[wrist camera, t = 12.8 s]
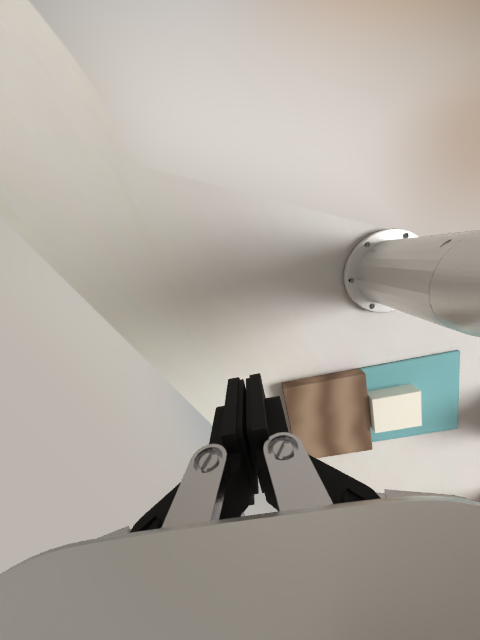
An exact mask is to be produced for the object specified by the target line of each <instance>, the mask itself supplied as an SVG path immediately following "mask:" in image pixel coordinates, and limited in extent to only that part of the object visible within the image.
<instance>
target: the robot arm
mask: <svg viewBox="0 0 480 640" xmlns="http://www.w3.org/2000/svg"><path fill="white" fill-rule="evenodd" d="M364 244H366V246H364ZM349 279H350V281H349ZM344 284H345V288H346V291H347V293H348V295H349V297H350V298H351V299H352V300H353V302H355V303H356V304H357V305H358V306H360V307H362V308H364V309H366V310H369V311H372V312H390V311H394V310H399V311H402V312H405V313H407V314H410V315H413V316H416V317H419V318H422V319H424V320H427V321H430V322H433V323H436V324H438V325H441V326H444V327H447V328H450V329H453V330H456V331H459V332H462V333H465V334H468V335H472V336H476V337H480V230H475V231H466V232H457V233H448V234H440V235H430V236H422V237H418V236H417V235H416V234H414V233H412V232H410V231H407V230H404V229H395V228H394V229H386V230H381V231H378V232H375V233H373V234H371V235H369V236H368V237H366V238H364V239H363V240H362V241H361V242H360V243H359V244H358V245H356V247H355V248H354V249H353V251H352V252H351V254H350V256H349V257H348V259H347V262H346V265H345V270H344ZM369 305H370V306H369ZM258 479H259V483H260V486H261V490H262V493H265V496H266V500H267V502H268V503H269V504H271V505H272V506H273V507H274V508H276V509H277V510H278V512H273V513H265V514H257V515H250V516H245V514H244V511H245V510H246V508H247V507H248V506H249V505H253V504H254V494H258ZM0 640H480V502H477V501H472V500H468V499H466V498H464V497H460V496H455V495H446V494H434V493H422V492H410V491H398V490H386V489H385V493H376V492H375V491H374V490H373V489H371V488H370V487H368V486H367V485H365V484H363V483H361V482H359V481H358V480H356V479H354V478H352V477H350V476H348V475H346V474H344V473H342V472H341V471H339V470H337V469H335V468H333V467H331V466H329V465H327V464H326V463H324V462H322V461H320V460H318V459H316V458H314V457H312V456H310V455H309V454H307V452H306V450H305V448H304V446H303V444H302V442H301V440H300V439H299V438H298V437H297V436H295V435H294V434H291V433H289V432H288V428H287V424H286V420H285V416H284V412H283V408H282V404H281V400H280V396H276V397H271V398H265V394H264V389H263V385H262V380H261V376H260V373H259V374H254V375H250V378H247V379H246V388H245V384H244V380H243V379H242V380H240V379H239V377H238V378H232V379H228V385H227V392H226V400H225V406H221V407H217V408H216V411H215V416H214V422H213V427H212V432H211V437H210V442H209V445H206V446H204V447H202V448H200V449H199V450H198V451H197V452H196V453H195V454H194V455H193V457H192V458H191V460H190V463H189V465H188V467H187V469H186V472H185V474H184V476H183V479H182V481H181V483H179V484H178V485H177V486H176V487H175V488H174V489H173V490H172V491H170V492H169V493H168V494H167V495H166V496H165V497H164V498H163V499H162V500H160V501H159V502H158V503H157V504H156V505H155V506H154V507H153V508H151V509H150V510H149V511H148V512H147V513H146V514H145V515H144V516H143V517H141V518H140V519H139V521H138V522H137V523H136V524H135V525H134V526H133V528H132V529H130V528H129V526H127V527H125V528H122V529H120V530H117V531H115V532H112V533H109V534H107V535H104V536H102V537H99V538H97V539H91V540H86V541H81V542H77V543H72V544H67V545H64V546H61V547H57V548H54V549H51V550H48V551H45V552H43V553H40V554H38V555H35V556H33V557H30V558H28V559H27V560H25V561H23V562H21V563H19V564H17V565H15V566H13V567H11V568H9V569H8V570H6V571H5V572H3V573H1V574H0Z"/></svg>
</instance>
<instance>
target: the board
mask: <svg viewBox="0 0 480 640" xmlns="http://www.w3.org/2000/svg"><path fill="white" fill-rule="evenodd" d="M282 387H283V392H284V397H285V402H286V408H287V413H288V418H289V423H290V428H291V433H292V434H294V435H295V436H297V437H298V438H299V439H300V440H301V442H302V444H303V446H304V448H305V450H306V452H307V454H309V455H310V456H312V457H314V458H321V457H328V456H334V455H340V454H347V453H353V452H359V451H366V450H372V440H371V429H370V418H369V406H368V395H367V384H366V374H365V373H364V372H363V371H362V370H361V369H360V370H358V369H353V370H348V371H342V372H337V373H331V374H326V375H321V376H315V377H310V378H304V379H299V380H293V381H288V382H283V383H282Z"/></svg>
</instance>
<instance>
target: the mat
mask: <svg viewBox="0 0 480 640" xmlns="http://www.w3.org/2000/svg"><path fill="white" fill-rule="evenodd" d="M459 366H460V351H459V350H456V351H450V352H445V353H440V354H434V355H429V356H423V357H418V358H413V359H407V360H402V361H396V362H391V363H385V364H380V365H375V366H369V367H364V368H358V370H360V369H361V370H362V371H363V372H364V373H365V374H366V384H367V391H372V390H378V389H384V388H389V387H395V386H400V385H406V384H412V385H414V386H415V387H416V388H417V389H419V390H420V391H421V412H422V426H417V427H411V428H404V429H398V430H392V431H386V432H380V433H375V432H374V431H373V430H372V428H371V427H370V429H371V440H372V442H376V441H382V440H389V439H395V438H401V437H407V436H414V435H420V434H426V433H432V432H439V431H445V430H451V429H458V400H459Z"/></svg>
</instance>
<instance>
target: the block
mask: <svg viewBox="0 0 480 640" xmlns="http://www.w3.org/2000/svg"><path fill="white" fill-rule="evenodd" d="M367 395H368V406H369V418H370V427H371V428H372V430H373V431H374V432H375V433H380V432H386V431H392V430H398V429H404V428H411V427H417V426H422V412H421V391H420V390H419V389H417V388H416V387H415V386H414V385H412V384H406V385H400V386H395V387H389V388H384V389H378V390H372V391H367Z"/></svg>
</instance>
